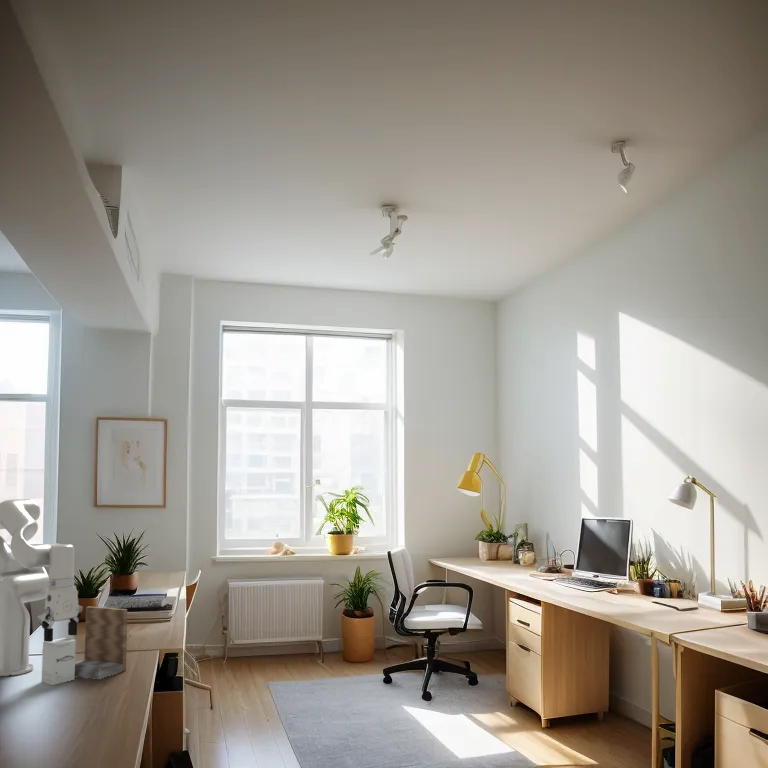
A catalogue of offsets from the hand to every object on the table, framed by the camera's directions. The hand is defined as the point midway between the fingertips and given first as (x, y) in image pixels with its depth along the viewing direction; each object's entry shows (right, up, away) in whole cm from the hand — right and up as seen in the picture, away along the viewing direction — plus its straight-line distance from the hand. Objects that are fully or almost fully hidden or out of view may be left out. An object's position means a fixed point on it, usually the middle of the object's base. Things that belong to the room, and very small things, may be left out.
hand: (60, 638), depth 244 cm
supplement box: (0, -14, -1) cm, 14 cm away
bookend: (+7, -14, +8) cm, 18 cm away
